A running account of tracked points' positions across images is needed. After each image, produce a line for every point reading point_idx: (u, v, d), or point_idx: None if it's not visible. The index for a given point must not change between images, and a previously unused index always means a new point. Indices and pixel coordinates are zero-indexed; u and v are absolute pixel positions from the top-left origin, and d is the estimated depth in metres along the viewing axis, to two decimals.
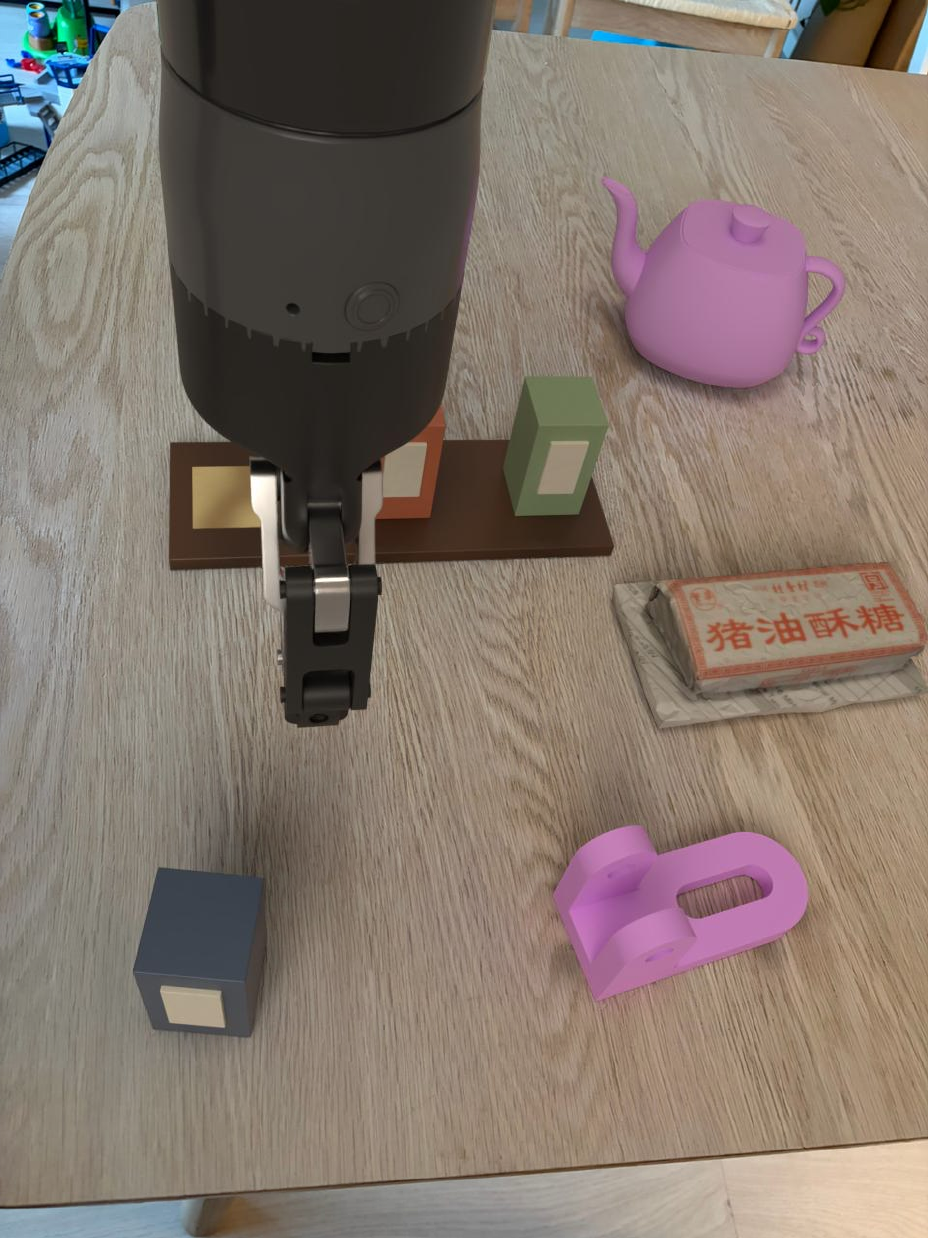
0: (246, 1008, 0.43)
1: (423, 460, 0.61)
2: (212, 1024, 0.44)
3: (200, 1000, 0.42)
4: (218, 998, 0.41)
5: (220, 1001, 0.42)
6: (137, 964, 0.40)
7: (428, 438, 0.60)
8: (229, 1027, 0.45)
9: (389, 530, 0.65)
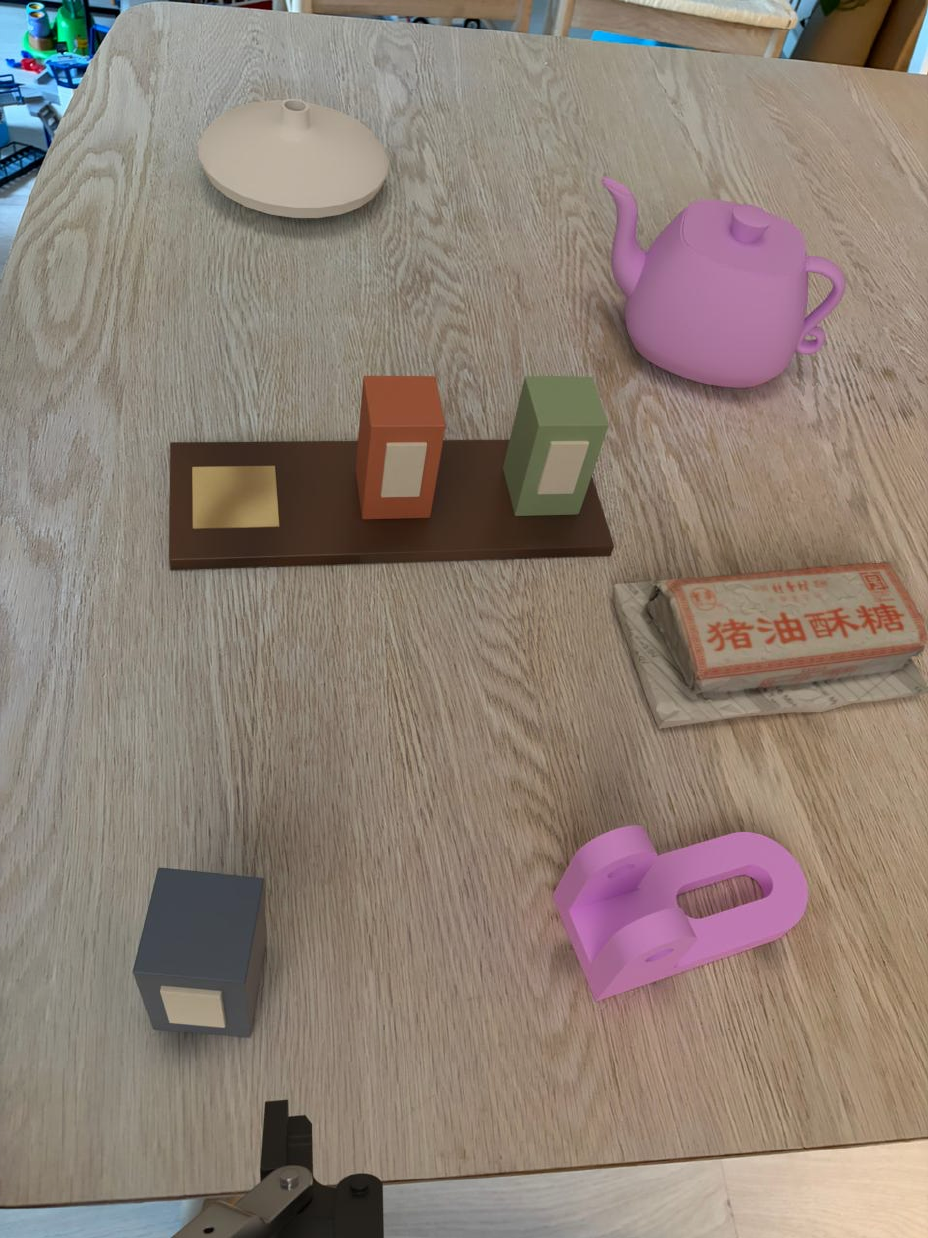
0: (246, 1008, 0.43)
1: (423, 460, 0.61)
2: (212, 1024, 0.44)
3: (200, 1000, 0.42)
4: (218, 998, 0.41)
5: (220, 1001, 0.42)
6: (137, 964, 0.40)
7: (428, 438, 0.60)
8: (229, 1027, 0.45)
9: (389, 530, 0.65)
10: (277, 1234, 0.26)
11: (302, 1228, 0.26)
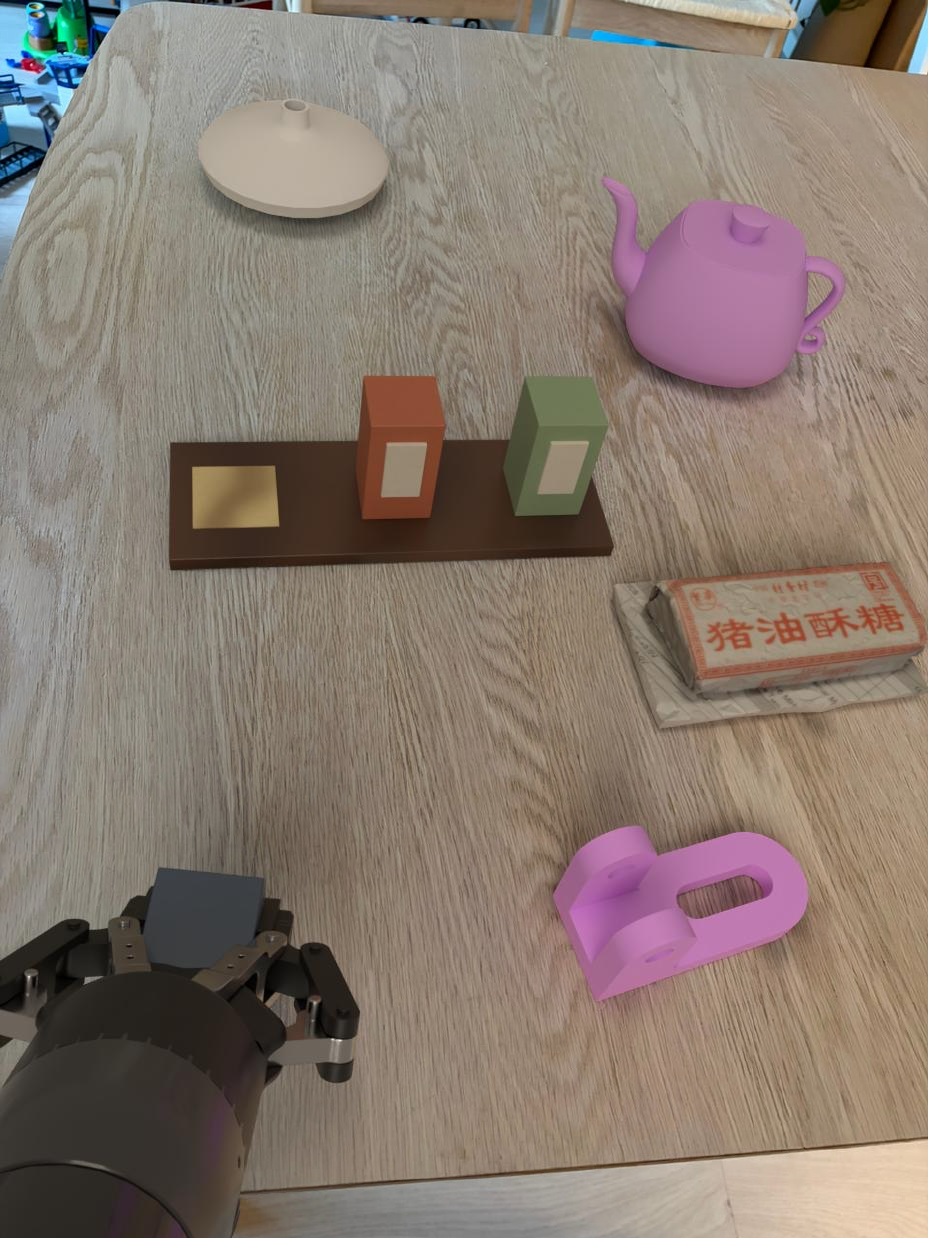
0: None
1: (423, 460, 0.61)
2: None
3: None
4: None
5: None
6: None
7: (428, 438, 0.60)
8: None
9: (389, 530, 0.65)
10: None
11: (276, 967, 0.41)
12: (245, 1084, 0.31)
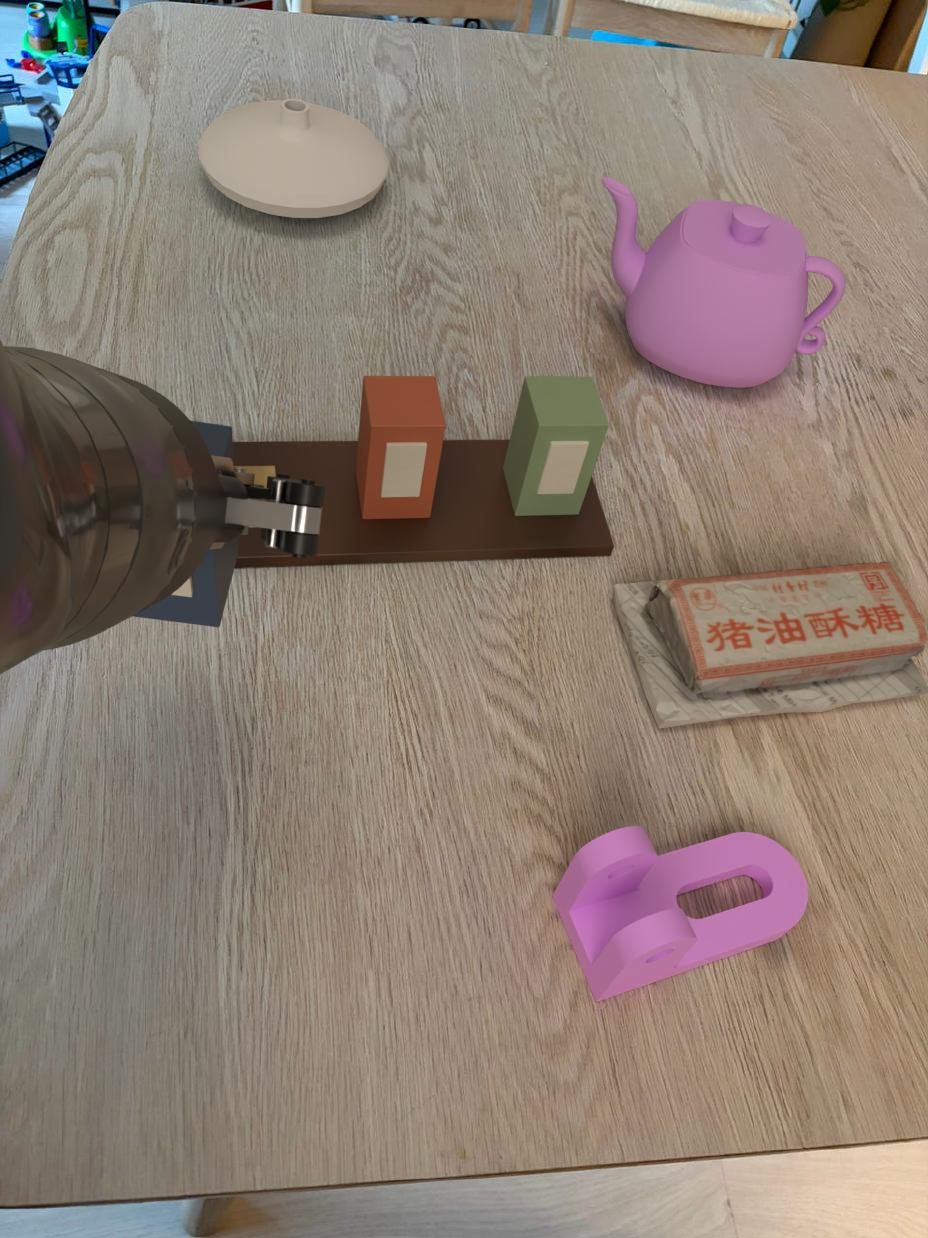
0: (213, 561, 0.42)
1: (423, 460, 0.61)
2: (178, 590, 0.43)
3: None
4: None
5: None
6: None
7: (428, 438, 0.60)
8: (197, 604, 0.44)
9: (389, 530, 0.65)
10: None
11: None
12: (198, 457, 0.30)
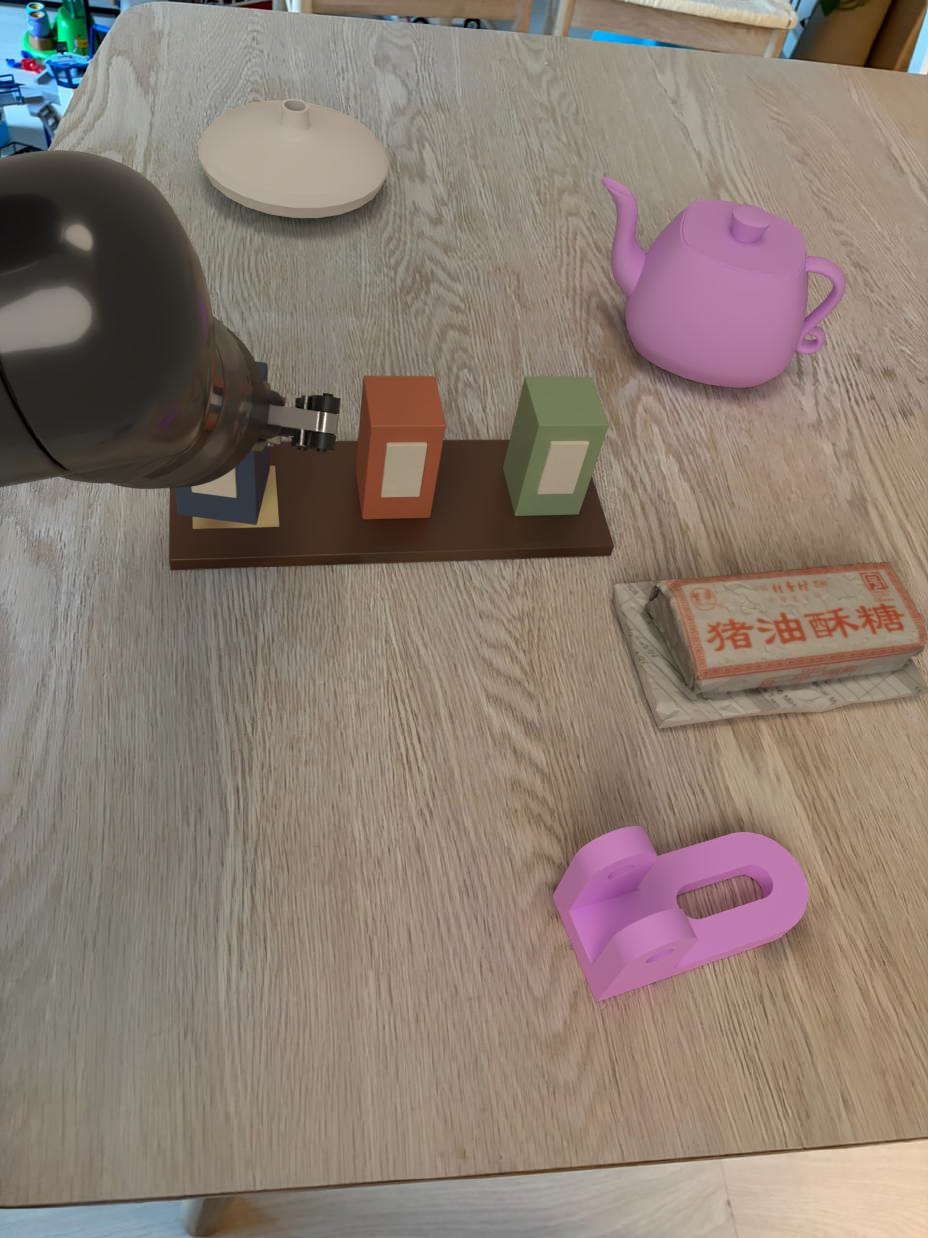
0: (253, 466, 0.54)
1: (423, 460, 0.61)
2: (226, 492, 0.55)
3: None
4: None
5: None
6: None
7: (428, 438, 0.60)
8: (239, 504, 0.56)
9: (389, 530, 0.65)
10: None
11: None
12: (252, 366, 0.42)
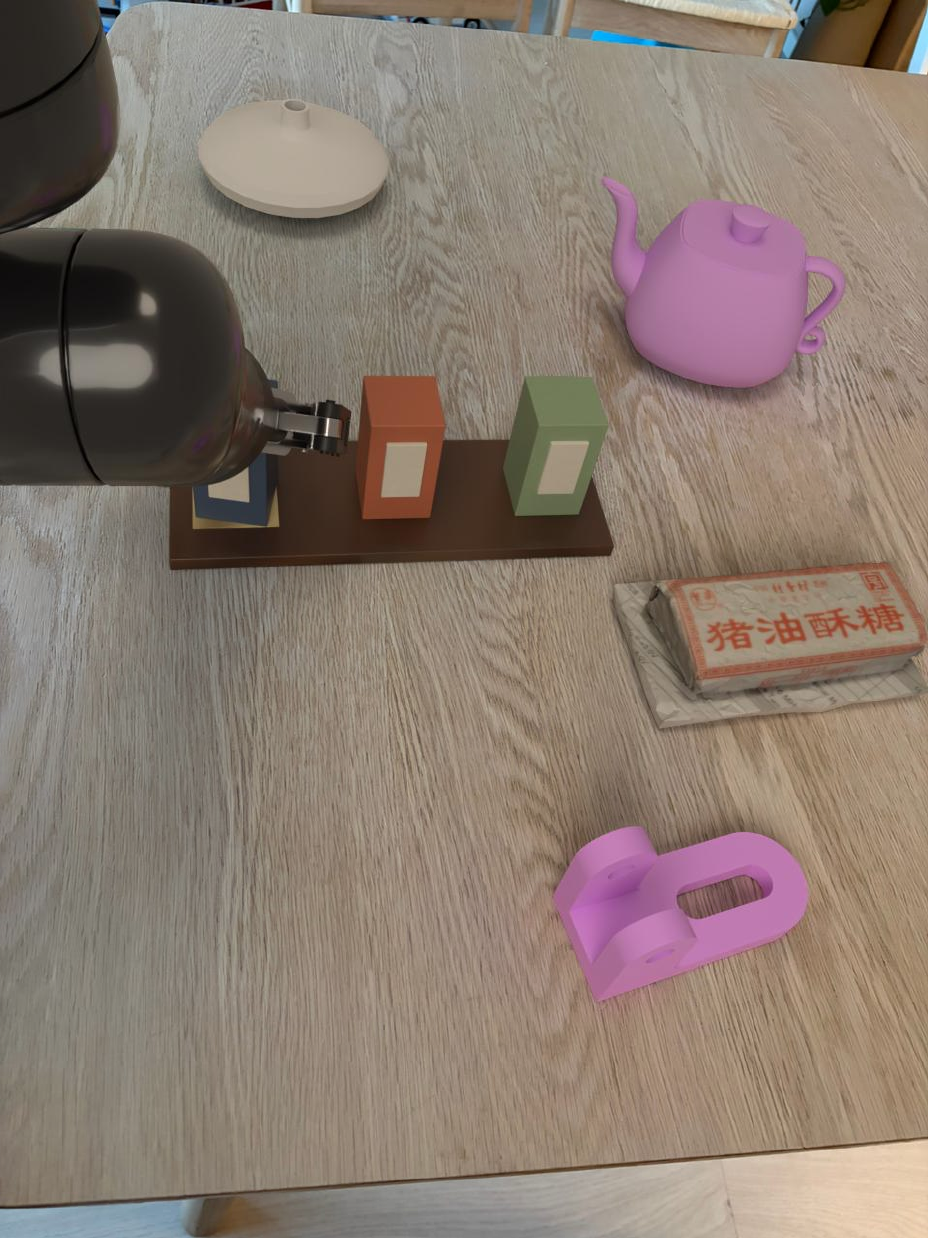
0: (265, 474, 0.60)
1: (423, 460, 0.61)
2: (240, 497, 0.61)
3: None
4: None
5: None
6: None
7: (428, 438, 0.60)
8: (252, 508, 0.62)
9: (389, 530, 0.65)
10: None
11: None
12: (263, 378, 0.47)
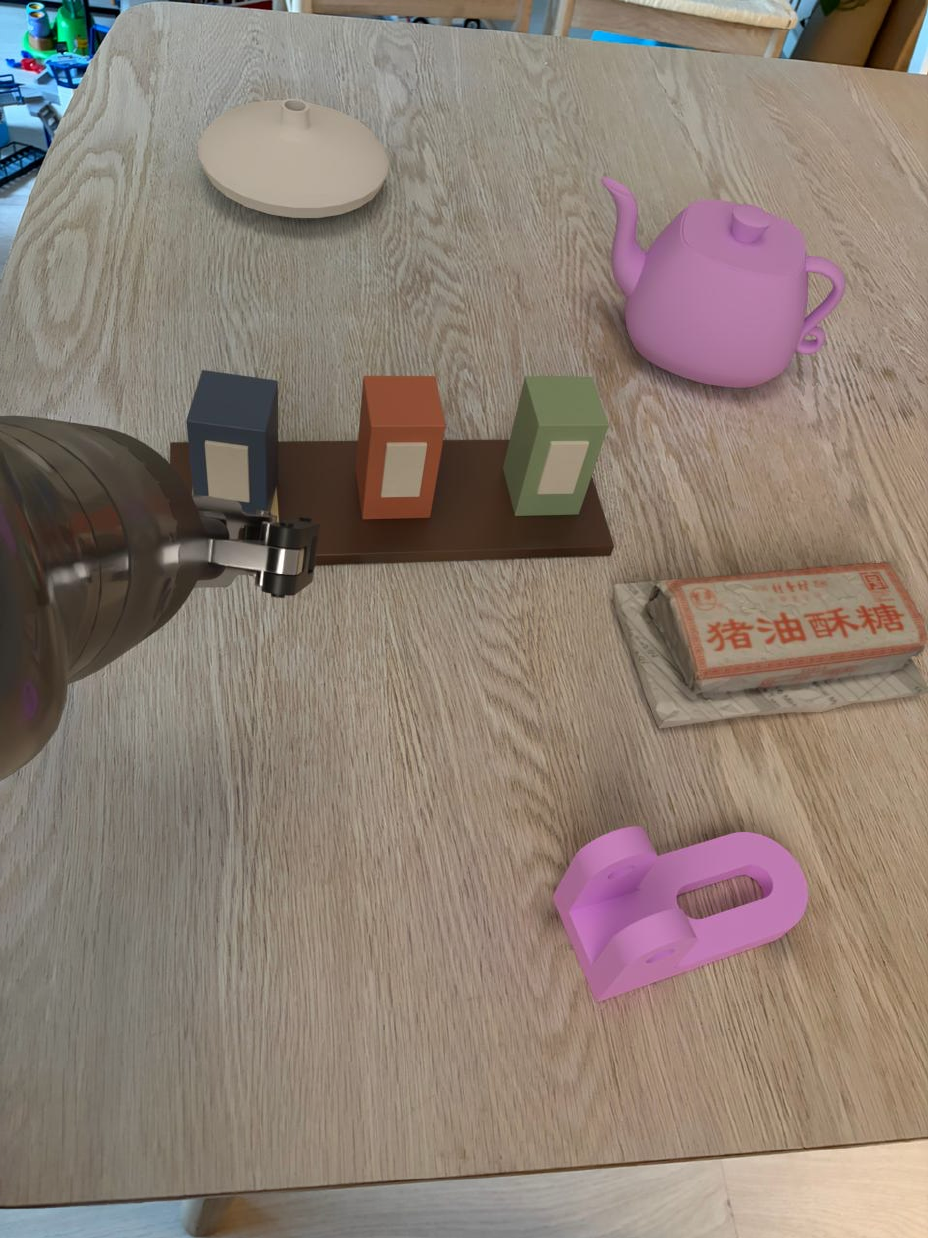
0: (265, 474, 0.60)
1: (423, 460, 0.61)
2: (240, 497, 0.61)
3: (232, 455, 0.58)
4: (246, 450, 0.58)
5: (247, 456, 0.58)
6: (189, 416, 0.57)
7: (428, 438, 0.60)
8: (252, 508, 0.62)
9: (389, 530, 0.65)
10: (249, 540, 0.42)
11: None
12: (182, 508, 0.32)
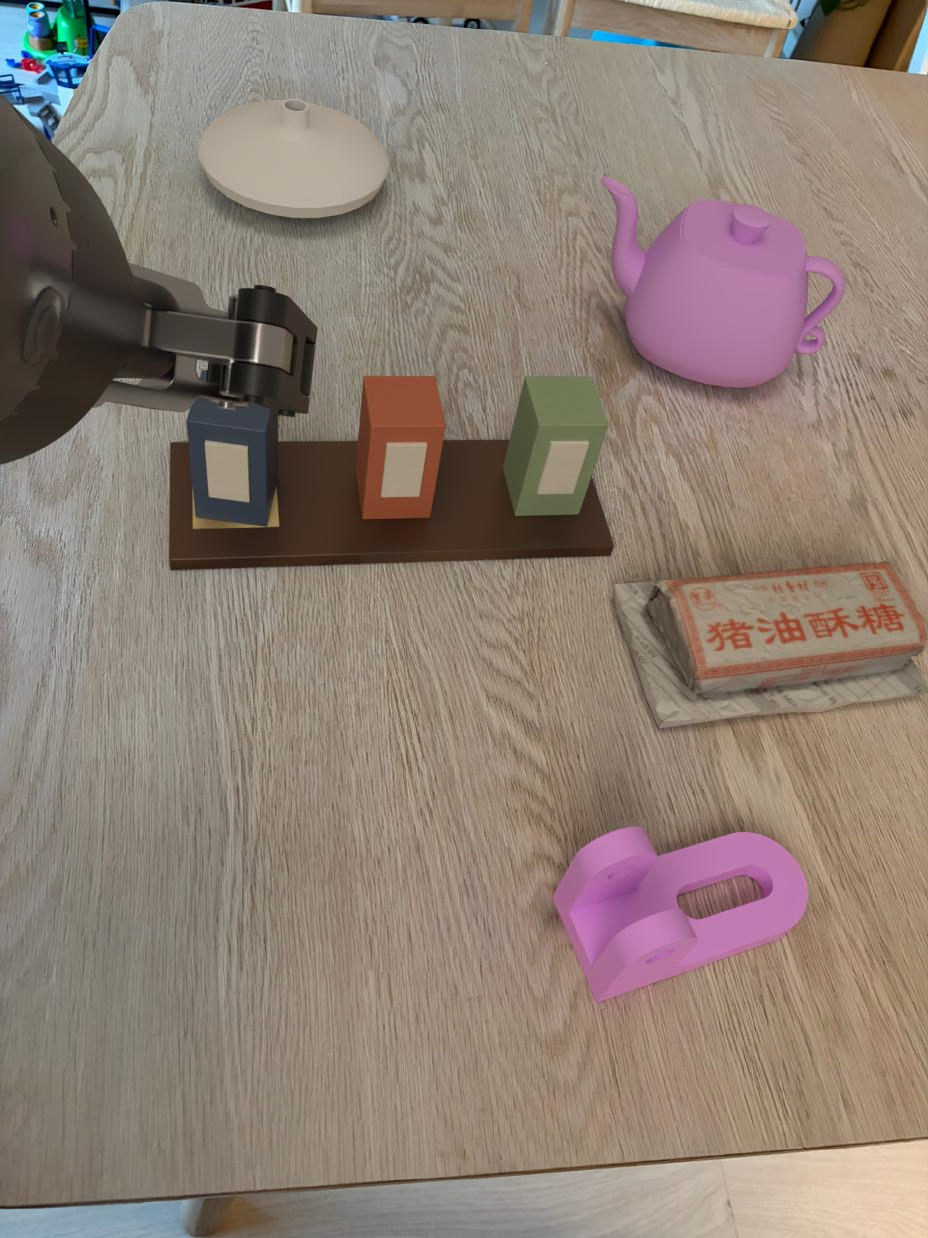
0: (265, 474, 0.60)
1: (423, 460, 0.61)
2: (240, 497, 0.61)
3: (232, 455, 0.58)
4: (246, 450, 0.58)
5: (247, 456, 0.58)
6: (189, 416, 0.57)
7: (428, 438, 0.60)
8: (252, 508, 0.62)
9: (389, 530, 0.65)
10: None
11: None
12: (86, 208, 0.19)
